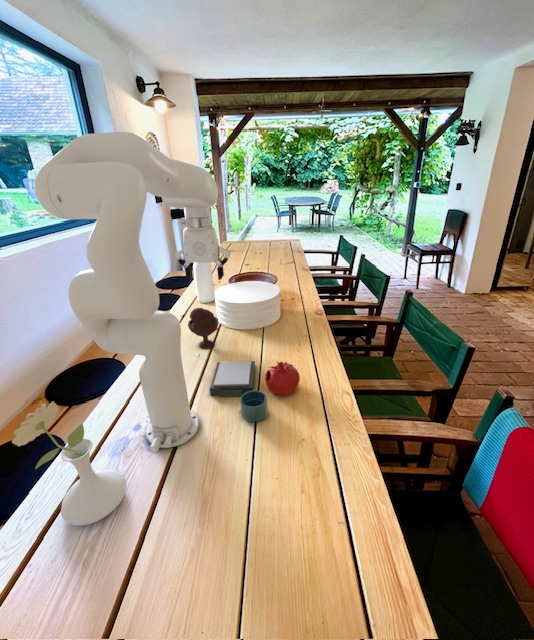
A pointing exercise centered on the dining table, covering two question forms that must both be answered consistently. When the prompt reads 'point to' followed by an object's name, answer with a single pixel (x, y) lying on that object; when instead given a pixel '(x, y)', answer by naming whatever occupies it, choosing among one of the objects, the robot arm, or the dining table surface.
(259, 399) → the teal cup
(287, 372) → the pomegranate
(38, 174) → the robot arm
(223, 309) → the plate stack
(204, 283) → the alcohol
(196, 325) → the ice cream bowl
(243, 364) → the scale
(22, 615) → the dining table surface
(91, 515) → the flower in vase
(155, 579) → the dining table surface
